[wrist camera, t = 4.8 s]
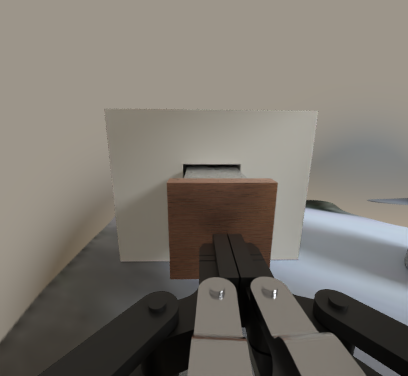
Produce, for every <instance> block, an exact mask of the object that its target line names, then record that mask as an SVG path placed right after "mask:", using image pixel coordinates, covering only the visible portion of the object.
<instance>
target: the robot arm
mask: <svg viewBox="0 0 408 376" xmlns="http://www.w3.org/2000/svg"><path fill="white" fill-rule="evenodd" d="M405 264H406V266H407V268H408V250H407V253H406V257H405ZM241 327H245V328H246V332H247V340H246V338H245V337H243V335H242V328H241ZM355 346H356V347H357V348H359V349H360V350H362V351H364V352H365V353H367V354H368V355H370V356H371V357H373V358H374V359H376V360H377V361H379V362H381V363H382V364H384V365H385V366H387V367H388V368H390V369H391V370H393V371H395V372H396V373H398V374H399V375H401V376H408V326H407V325H405V324H403V323H401V322H399V321H397V320H395V319H393V318H391V317H389V316H387V315H385V314H383V313H381V312H379V311H377V310H375V309H373V308H371V307H369V306H367V305H365V304H363V303H361V302H359V301H357V300H355V299H353V298H351V297H349V296H347V295H345V294H343V293H341V292H338V291H335V290H330V289H323V290H319V291H318V292H316V294H315V298H314V299H310V298H306V297H301V296H297V295H294V294H292V293H291V292H290V290H289V289H288V287H287V286H286V285H285V284H284V283H282V282H281V281H279V280H277V279H275V278H274V277H273V275H272V273H271V271H270V269H269V267H268V265H267V263H266V261H265V259H264V258H263V256H262V254H261V252H260V250H259V248H258V247H257V246H255V245H254V244H253V243H245V241H244V239H243V236H242V234H213V236H212V243H203V244H202V246H201V247H200V248H199V288H198V289H197V291H196V292H195V293H194V294H192V295H191V296H188V297H186V298H183V299H179V300H177V298H176V297H175V296H174V295H173V294H171V293H169V292H165V291H158V292H153V293H150V294H148V295H146V296H145V297H143V298H142V299H141V300H139V301H138V302H136V303H135V304H134V305H132V306H131V307H130V308H128V309H127V310H126V311H124V312H123V313H122V314H120V315H119V316H118V317H116V318H115V319H114V320H112V321H111V322H110V323H108V324H107V325H105V326H104V327H103V328H101V329H100V330H99V331H97V332H96V333H95V334H93V335H92V336H91V337H89V338H88V339H87V340H85V341H84V342H83V343H81V344H80V345H78V346H77V347H76V348H74V349H73V350H72V351H70V352H69V353H68V354H66V355H65V356H64V357H62V358H61V359H60V360H58V361H57V362H56V363H54V364H53V365H52V366H50V367H49V368H47V369H46V370H45V371H43V372H42V373H41V374H39V375H38V376H179V373H180V372H183V371H185V370H187V369H188V376H253V375H252V368H251V364H252V367H253V370H254V373H255V376H382V375H381V374H379V373H378V372H376V371H375V370H373V369H372V368H370V367H369V366H367V365H366V364H364V363H363V362H361V361H360V360H358V359H357V358H355V357H354V356H353V353H354V349H355ZM250 360H251V362H250Z"/></svg>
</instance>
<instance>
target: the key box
mask: <svg viewBox="0 0 408 376" xmlns="http://www.w3.org/2000/svg"><path fill="white" fill-rule="evenodd" d="M104 111H105V120H106V130H107V139H108V148H109V158H110V167H111V177H112V187H113V196H114V206H115V215H116V225H117V234H118V244H119V253H120V262H132V261H170V256H169V230H168V204H167V181H168V180H169V178H184V176H185V173H186V169H187V166H188V165H234V166H235V167H236V168H237V169H238V170H239V171H240V172H241V173H242V174H243V175H245V176H246V177H247V178H271V179H273V180H274V181H276V182H277V183H278V187H277V197H276V207H275V217H274V227H273V237H272V248H271V258H270V260H298V256H299V248H300V241H301V234H302V226H303V219H304V212H305V204H306V197H307V189H308V182H309V175H310V168H311V160H312V153H313V145H314V139H315V131H316V124H317V116H318V111H272V110H271V111H269V110H265V111H264V110H183V109H104Z"/></svg>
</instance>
